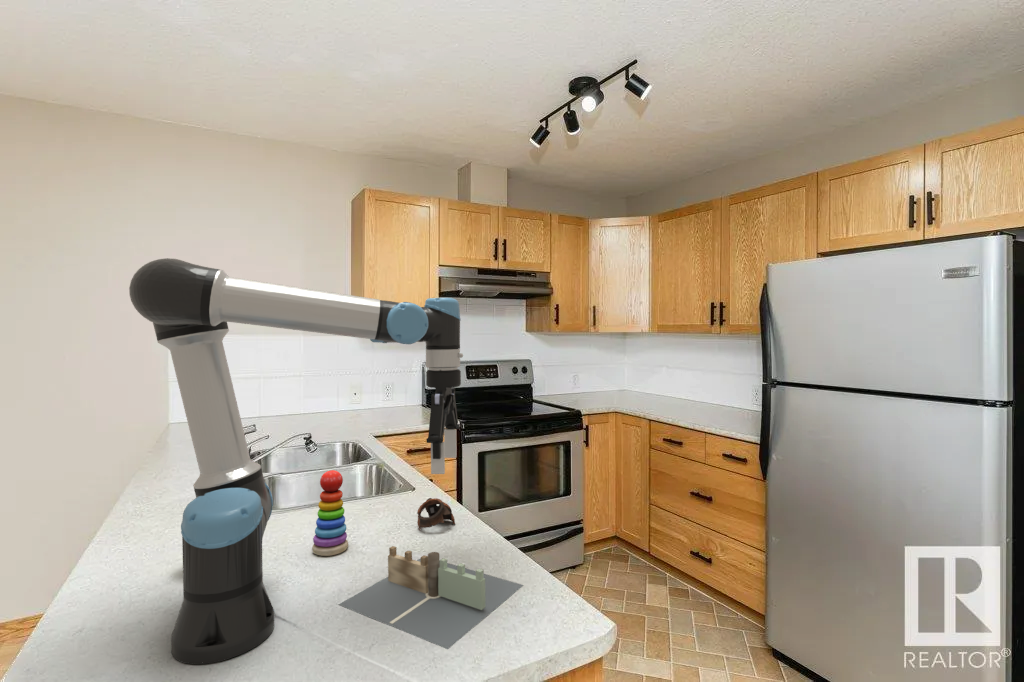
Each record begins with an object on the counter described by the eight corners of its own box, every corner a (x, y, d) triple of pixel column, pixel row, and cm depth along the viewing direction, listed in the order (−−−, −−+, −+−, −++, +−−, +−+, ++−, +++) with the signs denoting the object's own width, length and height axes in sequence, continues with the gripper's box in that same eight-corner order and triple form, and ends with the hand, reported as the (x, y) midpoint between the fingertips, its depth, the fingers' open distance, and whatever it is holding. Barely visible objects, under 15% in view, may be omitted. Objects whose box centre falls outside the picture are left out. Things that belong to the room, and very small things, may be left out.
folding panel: (438, 595, 97) (438, 559, 97) (442, 592, 98) (442, 557, 98) (481, 610, 92) (481, 572, 92) (485, 607, 93) (485, 569, 93)
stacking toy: (336, 558, 116) (335, 476, 115) (305, 556, 117) (304, 474, 117) (354, 544, 123) (353, 467, 123) (324, 542, 125) (323, 465, 125)
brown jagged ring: (463, 529, 134) (452, 507, 130) (431, 550, 131) (419, 528, 127) (446, 505, 144) (435, 483, 140) (416, 524, 141) (404, 502, 137)
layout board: (447, 652, 81) (447, 648, 81) (338, 607, 95) (338, 603, 95) (523, 587, 102) (523, 584, 102) (424, 558, 115) (424, 555, 115)
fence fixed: (442, 593, 99) (441, 553, 99) (434, 598, 97) (434, 557, 97) (394, 577, 105) (393, 539, 105) (386, 581, 104) (386, 543, 103)
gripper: (449, 373, 99) (450, 481, 100) (469, 364, 124) (470, 451, 124) (411, 373, 100) (412, 481, 100) (438, 365, 125) (439, 451, 125)
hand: (444, 465), depth 112 cm, fingers open, 13 cm apart
